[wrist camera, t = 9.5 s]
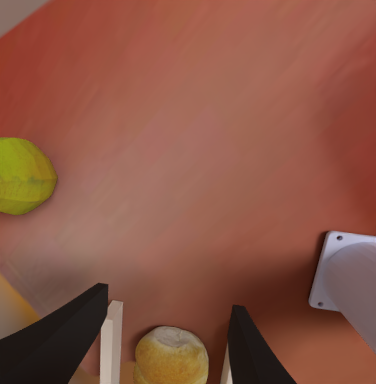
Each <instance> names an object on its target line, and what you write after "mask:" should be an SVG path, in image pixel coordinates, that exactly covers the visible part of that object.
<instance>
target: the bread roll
mask: <svg viewBox="0 0 376 384" xmlns="http://www.w3.org/2000/svg"><path fill="white" fill-rule="evenodd" d="M135 358H136V364H135V367H134V383H135V384H206V381H207V377H208V366H209V365H208V362H209V360H208V355H207V351H206V348H205V347H204V345H203V343H202V342H201V340H200V339H199V338H198V337H197V336H195V335H194V334H193V333H191V332H189V331H186V330H182V329H180V328H176V327H170V326H160V327H157V328H155V329H153V330H152V331H151V332H149V333H148V334H146V335H145V336H144V337H143V338H142V339H141V340H140V342H139V343H138V345H137V347H136V351H135Z"/></svg>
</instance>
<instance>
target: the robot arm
mask: <svg viewBox="0 0 376 384" xmlns="http://www.w3.org/2000/svg"><path fill="white" fill-rule="evenodd" d="M337 236H340V238H339V239H337ZM308 302H309V304H310V306H312V307H314V308H320V309H326V310H333V311H339V312H341V313H342V314H343V315H344V317H345V318H346V319H347V320H348V321H349V323H350V324H351V325H352V326H353V328H354V329H355V330H356V331H357V332H358V334H359V335H360V336H361V337H362V338H363V340H364V341H365V342H366V343H367V344H368V346H369V347H370V348H371V349H372V350H373V352H374V353H375V354H376V236H368V235H361V234H353V233H346V232H338V231H329V232H328V233H327V234H326V237H325V241H324V245H323V248H322V252H321V256H320V259H319V263H318V267H317V270H316V274H315V278H314V282H313V285H312V289H311V293H310V296H309V300H308ZM319 302H321V303H320V304H318V303H319ZM107 314H108V284H102V283H97V284H96V285H94V286H93V287H91V288H90V289H88V290H87V291H85V292H84V293H82V294H81V295H79V296H78V297H76V298H75V299H73V300H72V301H70V302H69V303H67V304H66V305H64V306H62V307H61V308H59V309H57V310H56V311H54V312H52V313H51V314H49V315H48V316H46V317H44V318H42V319H41V320H39V321H37V322H35V323H33V324H32V325H30V326H28V327H26V328H24V329H22V330H20V331H18V332H16V333H14V334H12V335H10V336H7V337H5V338H3V339H1V340H0V384H68V382H69V380H70V379H71V377H72V376H73V374H74V372H75V371H76V369H77V368H78V366H79V364H80V363H81V361H82V359H83V358H84V356H85V355H86V353H87V351H88V350H89V348H90V346H91V345H92V343H93V342H94V340H95V338H96V337H97V335H98V333H99V331H100V329H101V327H102V325H103V323H104V321H105V319H106V317H107ZM228 354H229V363H230V369H231V376H232V383H233V384H297V383H296V382H295V381H294V380H293V378H292V377H291V376H290V375H289V373H288V372H287V371H286V369H285V368H284V367H283V366H282V364H281V363H280V362H279V360H278V359H277V357H276V356H275V355H274V353H273V352H272V350H271V349H270V347H269V346H268V344H267V343H266V341H265V340H264V338H263V337H262V335H261V334H260V332H259V330H258V329H257V327H256V325H255V324H254V322H253V320H252V319H251V317H250V315H249V313H248V312H247V310H246V308H245V307H244V306H239V305H233V307H232V313H231V318H230V324H229V329H228Z"/></svg>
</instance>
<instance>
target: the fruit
mask: <svg viewBox="0 0 376 384" xmlns="http://www.w3.org/2000/svg"><path fill="white" fill-rule="evenodd" d="M57 179H58V176H57V174H56V172H55V170H54V167H53V165H52V163H51V161H50V160H49V159H48V158H47V156H46V155H45V154H44V153H43V152H42V151H41V150H40V149H39V148H38V147H37V146H35V145H34V144H33V143H31V142H29V141H27V140H24V139H19V138H0V212H3V213H8V214H13V215H20V214H25V213H27V212H29V211H31V210H33V209H35V208H36V207H38V206H39V205H40V204H41V203H43V202H44V201H45V200H46V199H48V198H49V197H50V196H51V195H52V193H53V191H54V188H55V185H56V182H57Z"/></svg>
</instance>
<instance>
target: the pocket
mask: <svg viewBox="0 0 376 384" xmlns="http://www.w3.org/2000/svg"><path fill="white" fill-rule="evenodd" d="M122 314H123V302H121V301H115V300H112V302H111V303H110V305H109V307H108V314H107V317H106V319H105V321H104V323H103V325H102V327H101V357H100V384H119V379H120V358H121V336H122ZM220 384H233V383H232V376H231V369H230V363H229V354H228V342H227V348H226V353H225V359H224V364H223V370H222V375H221V381H220Z"/></svg>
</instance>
